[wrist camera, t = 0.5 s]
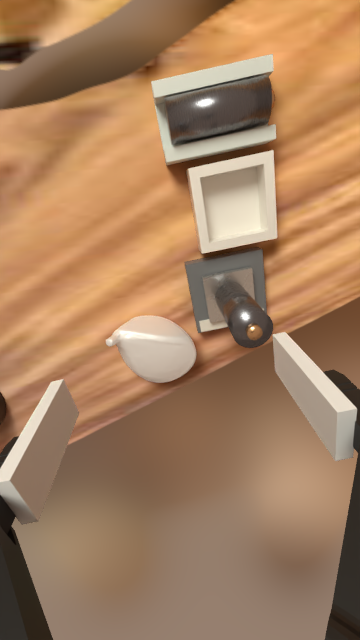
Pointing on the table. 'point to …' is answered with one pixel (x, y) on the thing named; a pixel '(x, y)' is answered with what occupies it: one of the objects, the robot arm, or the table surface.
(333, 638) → the robot arm
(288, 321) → the table surface
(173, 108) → the cell
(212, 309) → the plate
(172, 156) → the trough
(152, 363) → the white rounded lump
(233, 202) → the white square tray
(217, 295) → the cell
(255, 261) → the grey square base pad
